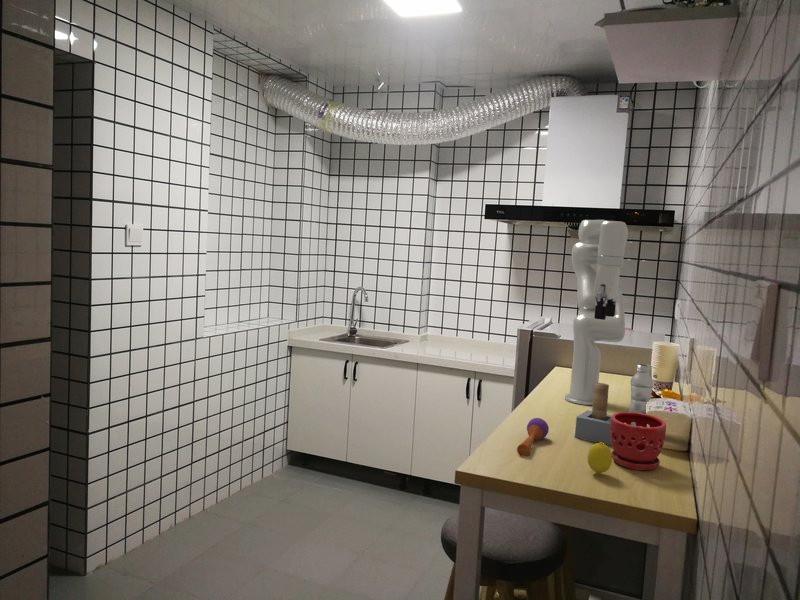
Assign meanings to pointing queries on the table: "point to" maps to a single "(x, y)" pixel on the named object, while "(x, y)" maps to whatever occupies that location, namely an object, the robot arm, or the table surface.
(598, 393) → the peg
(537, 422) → the purple maraca
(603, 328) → the robot arm
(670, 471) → the table surface
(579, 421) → the socket
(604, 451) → the lemon
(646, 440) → the plant pot
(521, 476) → the table surface
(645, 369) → the plastic bottle
